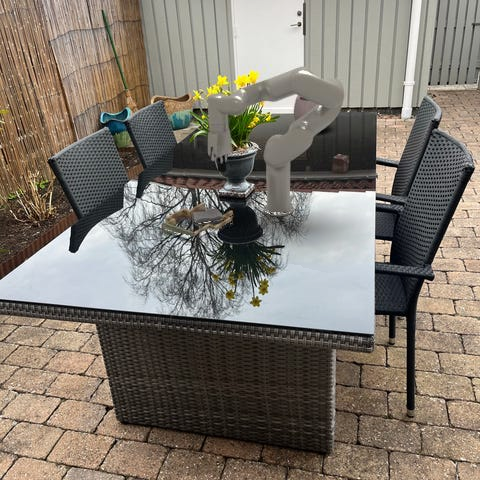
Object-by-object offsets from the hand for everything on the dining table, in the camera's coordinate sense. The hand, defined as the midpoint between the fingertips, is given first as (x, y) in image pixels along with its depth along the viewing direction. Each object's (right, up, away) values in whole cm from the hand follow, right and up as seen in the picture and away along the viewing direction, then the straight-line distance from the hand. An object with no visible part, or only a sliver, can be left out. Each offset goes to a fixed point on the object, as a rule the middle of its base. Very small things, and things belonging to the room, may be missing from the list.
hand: (222, 171), depth 194 cm
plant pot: (+53, +40, +103) cm, 123 cm away
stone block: (-6, -20, +1) cm, 21 cm away
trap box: (-9, -22, -3) cm, 24 cm away
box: (+57, +6, +41) cm, 70 cm away
